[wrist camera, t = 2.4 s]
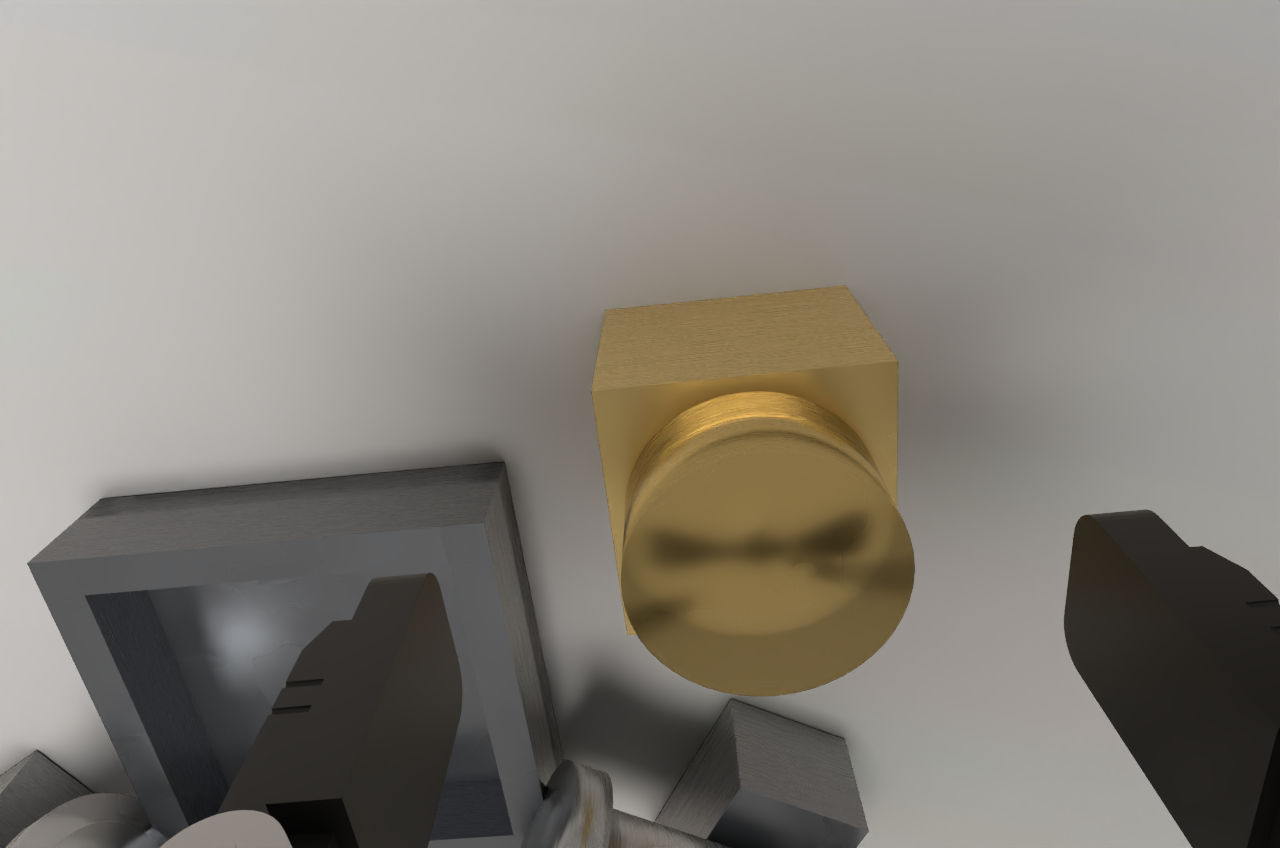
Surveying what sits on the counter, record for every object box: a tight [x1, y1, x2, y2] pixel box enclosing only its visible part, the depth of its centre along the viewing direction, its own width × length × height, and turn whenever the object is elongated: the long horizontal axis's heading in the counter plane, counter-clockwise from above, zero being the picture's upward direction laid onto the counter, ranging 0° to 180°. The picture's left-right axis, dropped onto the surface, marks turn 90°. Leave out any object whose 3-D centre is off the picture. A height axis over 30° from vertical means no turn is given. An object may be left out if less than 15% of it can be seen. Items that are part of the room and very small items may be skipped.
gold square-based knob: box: [591, 285, 915, 696], centre depth 15 cm, size 4×4×6 cm
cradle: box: [27, 462, 563, 848], centre depth 19 cm, size 9×9×2 cm
